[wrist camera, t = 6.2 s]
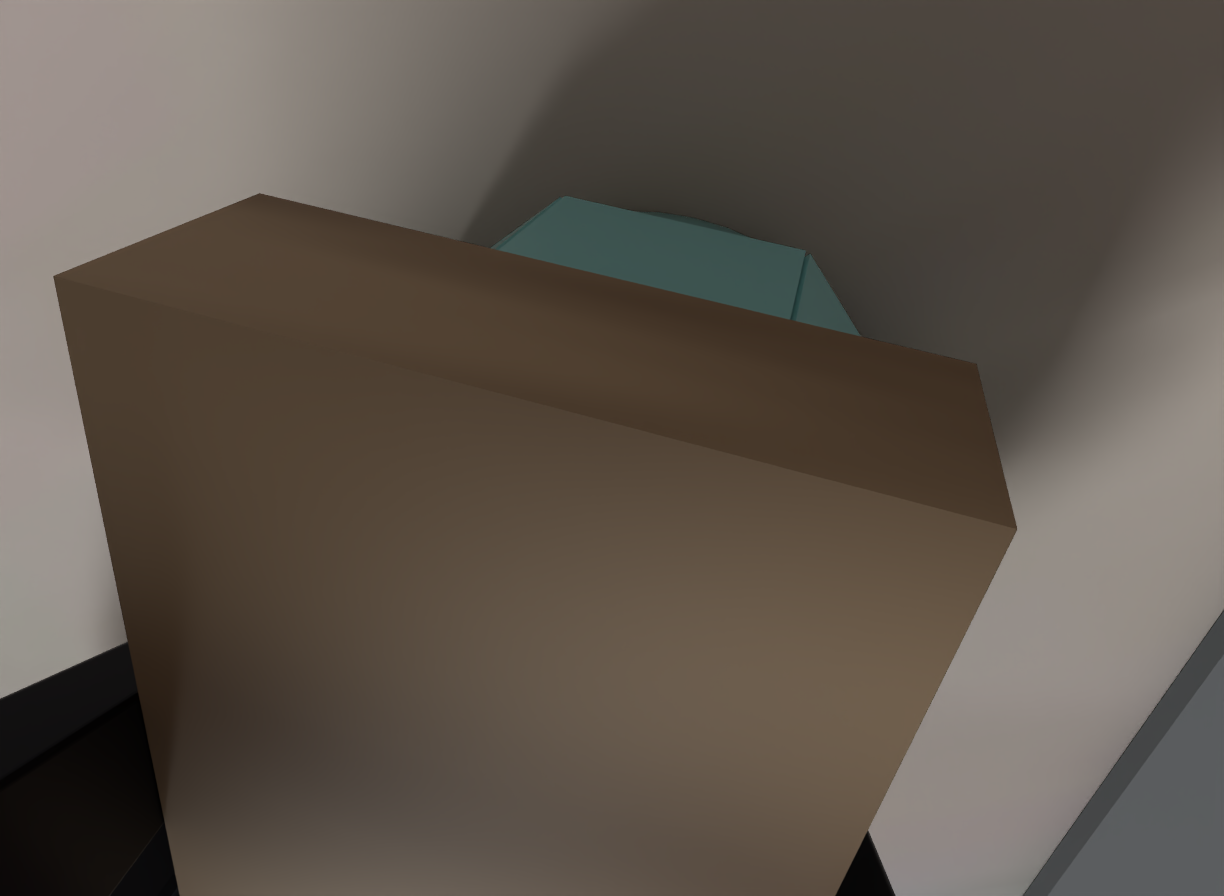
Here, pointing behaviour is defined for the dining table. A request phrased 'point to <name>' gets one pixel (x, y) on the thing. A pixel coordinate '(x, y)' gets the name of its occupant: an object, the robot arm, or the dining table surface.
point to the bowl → (681, 259)
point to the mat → (1157, 800)
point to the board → (515, 563)
